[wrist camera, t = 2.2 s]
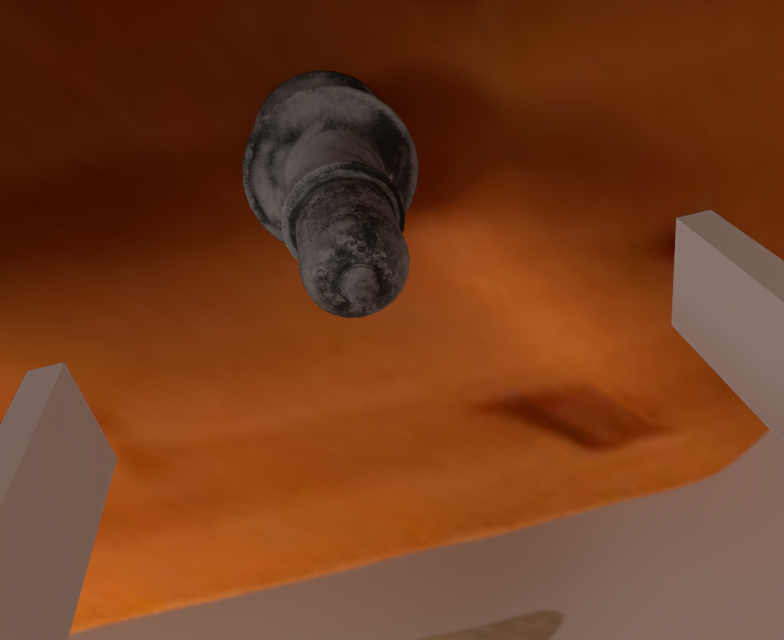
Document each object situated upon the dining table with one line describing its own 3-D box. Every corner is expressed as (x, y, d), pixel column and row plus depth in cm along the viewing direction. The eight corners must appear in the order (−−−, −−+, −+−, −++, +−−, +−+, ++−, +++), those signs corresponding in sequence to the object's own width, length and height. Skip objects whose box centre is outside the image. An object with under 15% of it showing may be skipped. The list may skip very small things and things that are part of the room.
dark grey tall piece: (221, 183, 26) (197, 365, 16) (279, 32, 24) (294, 136, 14) (361, 236, 28) (417, 428, 18) (427, 103, 26) (534, 239, 16)
